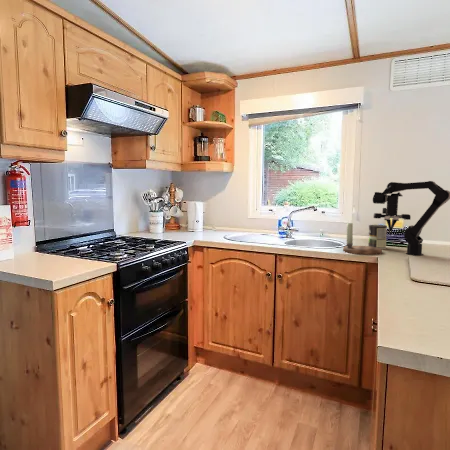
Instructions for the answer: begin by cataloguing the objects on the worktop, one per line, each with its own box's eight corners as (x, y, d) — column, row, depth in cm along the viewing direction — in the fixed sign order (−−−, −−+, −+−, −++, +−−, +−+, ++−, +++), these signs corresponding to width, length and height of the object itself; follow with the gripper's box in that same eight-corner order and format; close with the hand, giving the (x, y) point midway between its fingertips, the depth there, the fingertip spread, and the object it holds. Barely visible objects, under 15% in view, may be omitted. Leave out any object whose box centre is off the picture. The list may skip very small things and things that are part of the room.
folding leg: (352, 245, 199) (352, 223, 198) (352, 245, 196) (352, 223, 195) (346, 244, 200) (346, 223, 199) (346, 245, 197) (346, 223, 196)
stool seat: (380, 250, 202) (380, 242, 202) (383, 255, 182) (383, 247, 182) (343, 248, 209) (343, 241, 209) (342, 253, 190) (342, 245, 190)
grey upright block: (367, 248, 208) (367, 225, 207) (369, 246, 217) (369, 224, 216) (385, 249, 203) (386, 226, 202) (386, 247, 212) (387, 225, 211)
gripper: (408, 204, 197) (406, 230, 199) (373, 203, 203) (371, 228, 205) (411, 204, 187) (409, 232, 188) (375, 203, 193) (373, 230, 195)
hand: (390, 231), depth 194 cm, fingers closed
